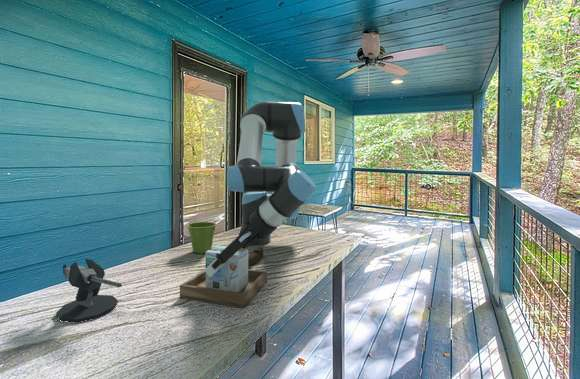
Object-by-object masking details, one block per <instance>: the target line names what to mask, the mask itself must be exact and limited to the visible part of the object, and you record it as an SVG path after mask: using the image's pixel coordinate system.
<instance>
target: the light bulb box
mask: <svg viewBox="0 0 580 379" xmlns="http://www.w3.org/2000/svg"><path fill="white" fill-rule="evenodd" d="M226 247H227V246H226V245H225V246H224V245H223V246H222V245H216V246H214V247H212V248H211V249H210V250H208V251H206V253H205V269H206V268H207V267H208V266H209V265H210V264H211V263H212V262H213V261H214V260H215V259H216V256H217V255H216V254H217V253H218V254H220V253H221V252H222V251H223V250H224V249H225V248H226ZM248 255H249V249H248V248H245V249H243V248H241V249H240V250H239V251H237V252H236V253H235V254H234V255H233V256H232V257H231V258H230V259H228V260H227V261H226V263H225V264H224V265H223V266H222V267H221V268H220V269H219V270H218V271H217V272H216V273H215V274H214V275H213V276H212V277H209V276H208V275H207V273H206V288H212V289H219V290H225V291H232V292H239V291H241V290H242V289H243V288H244V287H245V286H246V285H247V284H248V269H249V267H248Z"/></svg>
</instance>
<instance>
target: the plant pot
mask: <svg viewBox="0 0 580 379" xmlns="http://www.w3.org/2000/svg"><path fill="white" fill-rule="evenodd" d="M217 225H218V224H217V223H216V222H213V221H198V222H197V221H196V222H191V223H188V224H186V227H187V228H188V233H189V236H190V243H191V246H192V248H191V249H192V251H193V253H197V254H206V251H208V250H210V249H212V248H213V241H214V235H215V234H214V233H215V231H216V226H217Z"/></svg>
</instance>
